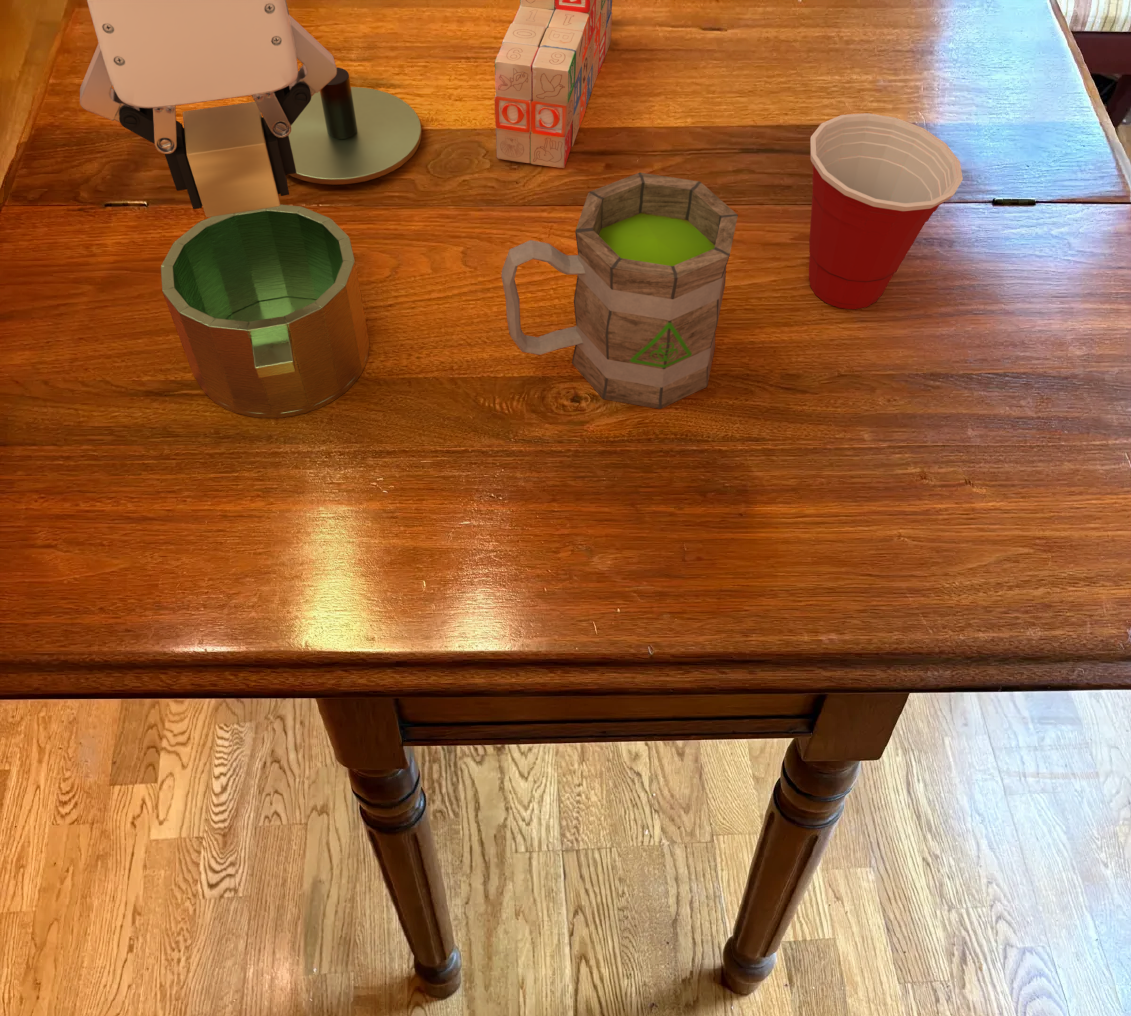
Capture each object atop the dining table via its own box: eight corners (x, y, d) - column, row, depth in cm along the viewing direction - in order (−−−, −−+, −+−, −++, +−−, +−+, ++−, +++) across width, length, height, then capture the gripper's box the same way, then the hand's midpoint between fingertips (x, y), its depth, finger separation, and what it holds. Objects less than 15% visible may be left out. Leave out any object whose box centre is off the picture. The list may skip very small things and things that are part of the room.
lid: (274, 201, 89) (257, 134, 84) (258, 109, 97) (242, 42, 92) (435, 177, 92) (429, 110, 87) (407, 89, 100) (400, 23, 94)
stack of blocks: (566, 171, 93) (568, 35, 83) (495, 161, 93) (489, 24, 83) (611, 41, 105) (618, -91, 95) (548, 33, 106) (549, -99, 96)
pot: (202, 462, 73) (167, 374, 66) (187, 287, 83) (155, 195, 76) (388, 428, 75) (372, 339, 68) (350, 261, 85) (334, 169, 78)
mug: (697, 298, 83) (717, 165, 74) (734, 400, 77) (761, 269, 67) (495, 319, 81) (488, 186, 72) (515, 426, 75) (511, 295, 65)
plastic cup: (934, 331, 82) (987, 199, 72) (793, 336, 81) (827, 204, 71) (898, 238, 88) (942, 106, 78) (767, 242, 87) (795, 109, 78)
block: (206, 218, 66) (186, 154, 62) (201, 174, 68) (182, 111, 65) (280, 206, 66) (265, 143, 63) (273, 164, 69) (257, 100, 65)
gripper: (317, -172, 56) (365, 135, 71) (-24, -139, 53) (99, 173, 68) (337, -109, 52) (384, 204, 66) (-34, -69, 49) (100, 248, 64)
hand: (239, 186), depth 67 cm, fingers closed on block, 4 cm apart
